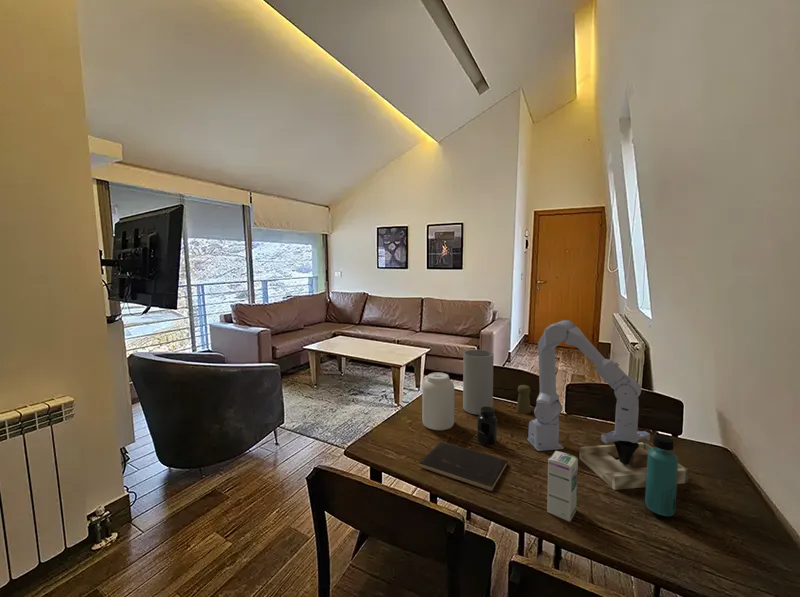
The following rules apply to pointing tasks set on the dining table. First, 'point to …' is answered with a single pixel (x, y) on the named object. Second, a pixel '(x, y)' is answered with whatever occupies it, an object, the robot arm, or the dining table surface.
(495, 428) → the supplement bottle
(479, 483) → the hardcover book
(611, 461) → the trap box
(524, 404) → the cork
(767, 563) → the dining table surface
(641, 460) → the walnut block
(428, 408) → the white lidded jar
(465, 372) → the cylinder vase
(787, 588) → the dining table surface
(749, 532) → the dining table surface
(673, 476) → the beverage bottle
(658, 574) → the dining table surface
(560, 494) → the syrup box
